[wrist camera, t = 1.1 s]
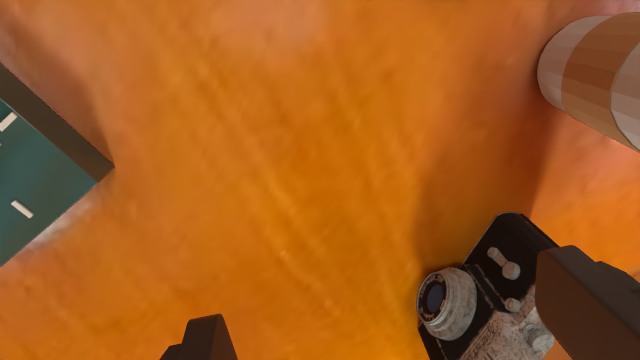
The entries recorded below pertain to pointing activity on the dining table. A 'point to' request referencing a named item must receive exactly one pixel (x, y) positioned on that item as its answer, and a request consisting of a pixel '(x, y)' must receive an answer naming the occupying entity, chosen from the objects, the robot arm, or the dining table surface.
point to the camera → (488, 298)
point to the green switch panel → (38, 166)
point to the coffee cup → (596, 74)
